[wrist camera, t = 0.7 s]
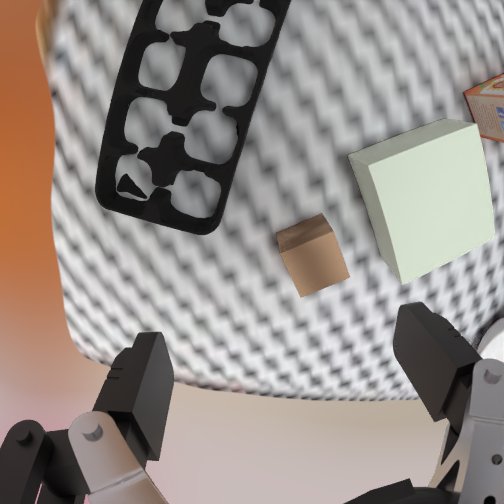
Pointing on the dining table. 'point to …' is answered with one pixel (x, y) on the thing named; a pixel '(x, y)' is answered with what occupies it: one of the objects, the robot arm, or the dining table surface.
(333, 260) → the walnut cube
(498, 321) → the spoon rest
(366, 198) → the stacking base
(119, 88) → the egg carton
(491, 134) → the cracker box
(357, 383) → the dining table surface
